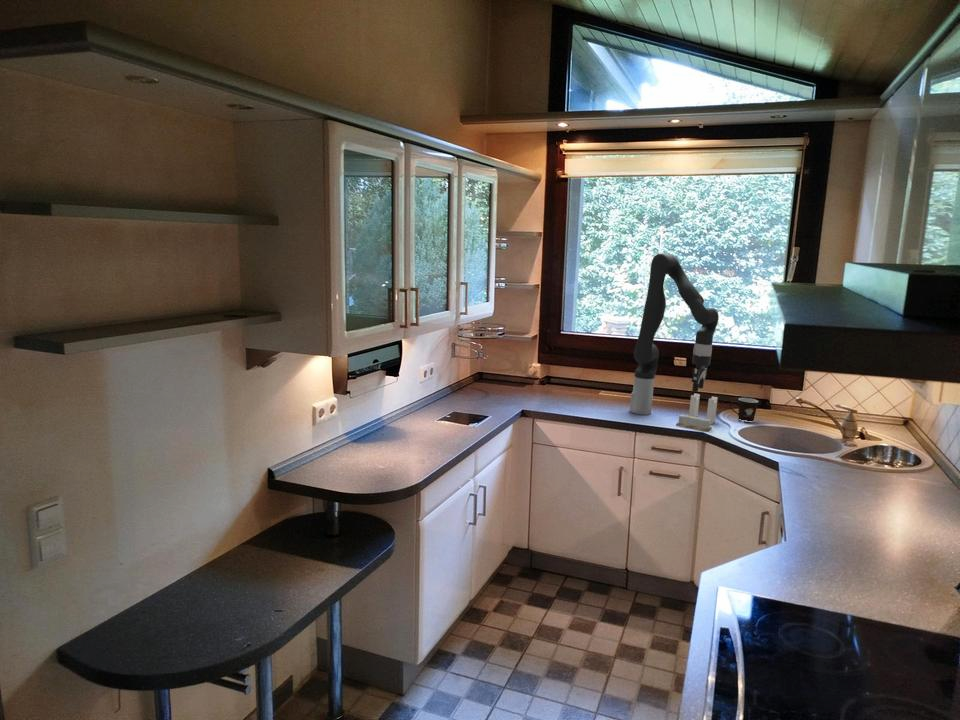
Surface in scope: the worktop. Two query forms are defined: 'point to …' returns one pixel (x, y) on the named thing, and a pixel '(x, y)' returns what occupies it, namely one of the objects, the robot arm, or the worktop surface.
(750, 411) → the coffee mug
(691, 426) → the board
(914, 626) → the worktop surface
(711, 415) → the post
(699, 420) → the rail
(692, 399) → the post
